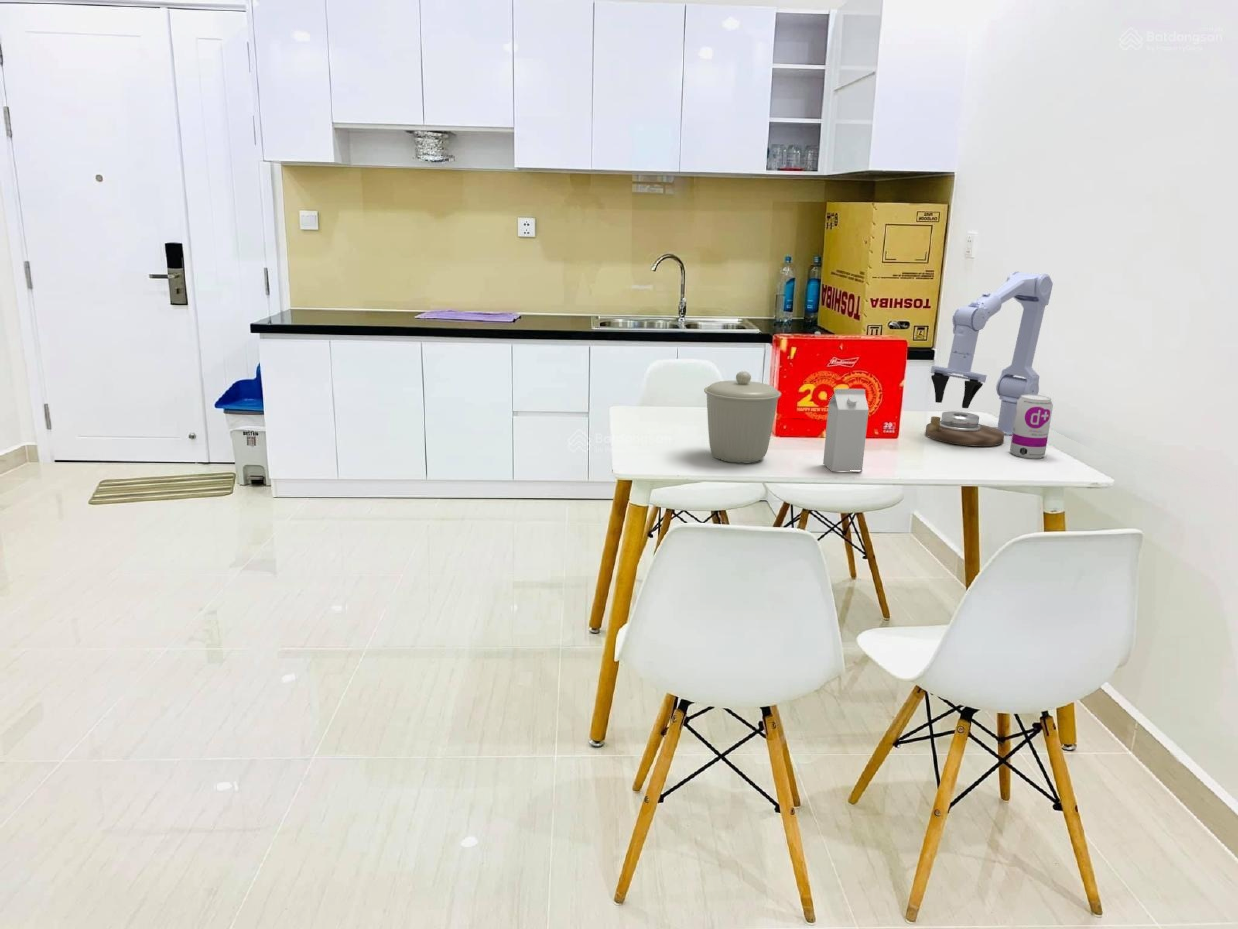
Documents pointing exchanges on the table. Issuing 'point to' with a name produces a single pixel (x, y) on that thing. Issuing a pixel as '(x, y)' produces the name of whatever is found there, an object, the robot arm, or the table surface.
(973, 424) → the cover
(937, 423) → the turntable
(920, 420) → the table surface
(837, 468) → the milk carton
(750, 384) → the canister
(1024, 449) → the supplement can
